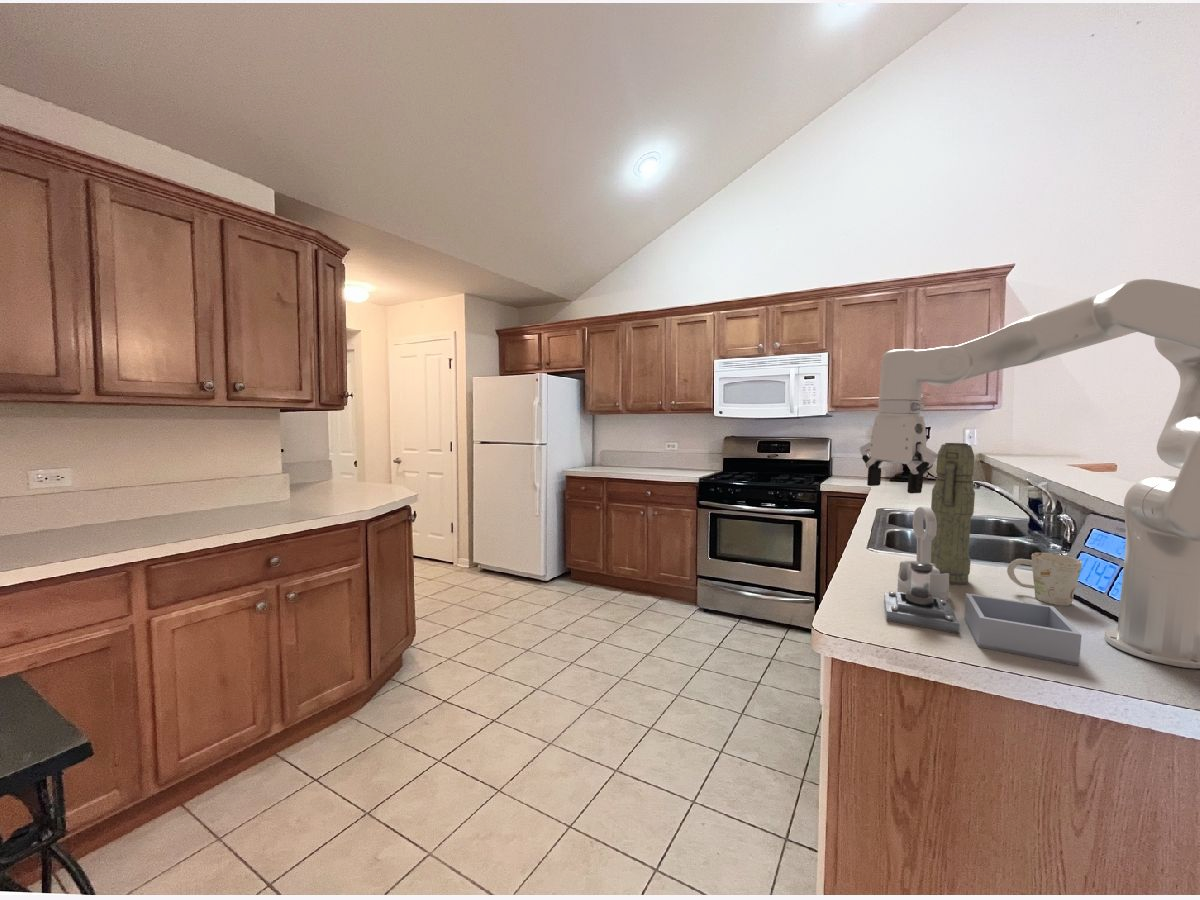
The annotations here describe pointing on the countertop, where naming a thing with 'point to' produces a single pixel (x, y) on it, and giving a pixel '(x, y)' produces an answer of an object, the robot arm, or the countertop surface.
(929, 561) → the engine component
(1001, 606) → the bin
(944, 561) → the green moai statue
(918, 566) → the dark topped cylinder
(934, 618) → the mount plate
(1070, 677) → the countertop surface
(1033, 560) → the mug
